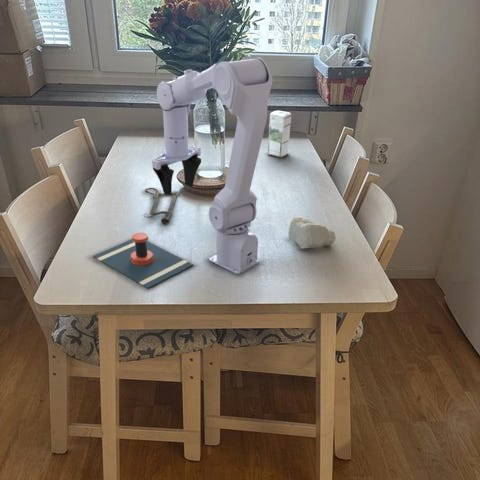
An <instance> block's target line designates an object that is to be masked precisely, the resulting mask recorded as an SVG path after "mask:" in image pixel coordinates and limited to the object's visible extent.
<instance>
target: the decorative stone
mask: <svg viewBox="0 0 480 480" xmlns="http://www.w3.org/2000/svg"><path fill="white" fill-rule="evenodd" d="M288 238H289V239H290V240H291V241H292V242H294V243H296V244H297V245H298V246H299V247H300V249H301V250H303V249H308V248H309V249H310V248H321V247H322V246H325V247H330V246H332V245H333V244H334V243H335V241H336V234H335V232H334V231H333V230H332V229H328V227H326V226H325V225H324V224H321V223H320V222H319V223H318V222H314V221H311V220H309V219H308V218H305V217H294V218H292V219H291V221H290V222H289V227H288Z"/></svg>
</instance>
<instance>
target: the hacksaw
mask: <svg viewBox="0 0 480 480" xmlns="http://www.w3.org/2000/svg"><path fill="white" fill-rule="evenodd" d="M149 190H154V191H155V193H154V192H150V191H149ZM144 192H145V193H147V194H150V195H152V198H153V199H154V200H153V201H154V202H153V204H152V207H151V209H150V212H149V215H150V216H145V215H147V214H148V212H146V213H144V214H143V217H144V218H146V219H149V218H153V217H154V216H157V215H165V216H164V217H162V218H161V219H160V222H161V223H162V224H164V225H166V224H170V217H171V214H172V211H173V210H174V207H175V203H176V200H177V197H178V196H179V191H172V192H171V195H170V196H172V197H171V200H170V203H169V205H168V209H167V210H159V211H156V210H157V207H158V204H159V199H160V196H168V195H167V194H165V193H164V192H159V191H158V189H157V188H155V187H149V188H146V189H145V190H144Z"/></svg>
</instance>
